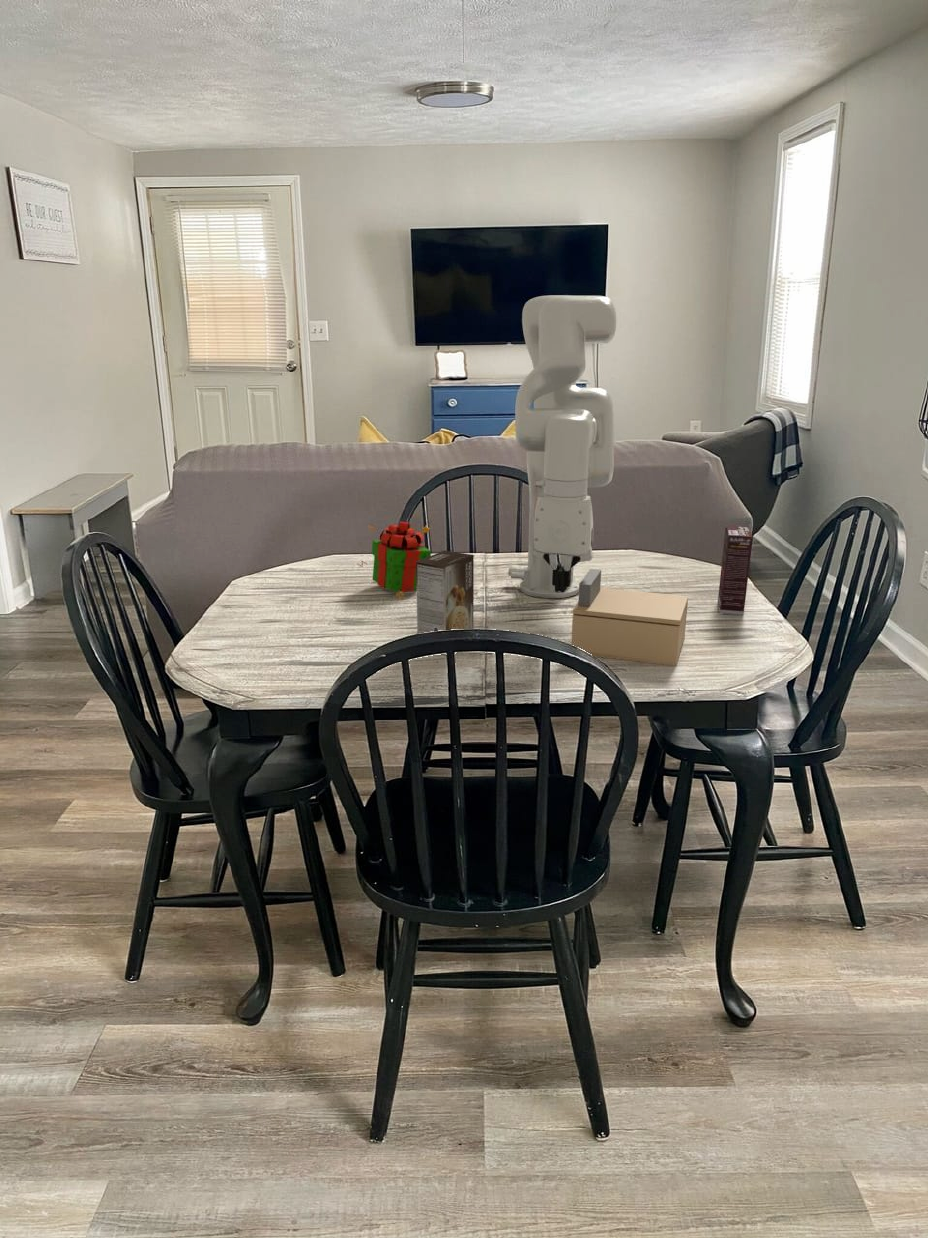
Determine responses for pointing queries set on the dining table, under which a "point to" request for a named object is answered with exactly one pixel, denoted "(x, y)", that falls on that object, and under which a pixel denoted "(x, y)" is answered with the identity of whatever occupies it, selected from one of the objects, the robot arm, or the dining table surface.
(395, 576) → the green gift box
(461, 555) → the coffee box
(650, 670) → the dining table surface
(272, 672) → the dining table surface
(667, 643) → the tray
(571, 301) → the robot arm
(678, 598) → the lid
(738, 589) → the supplement box
